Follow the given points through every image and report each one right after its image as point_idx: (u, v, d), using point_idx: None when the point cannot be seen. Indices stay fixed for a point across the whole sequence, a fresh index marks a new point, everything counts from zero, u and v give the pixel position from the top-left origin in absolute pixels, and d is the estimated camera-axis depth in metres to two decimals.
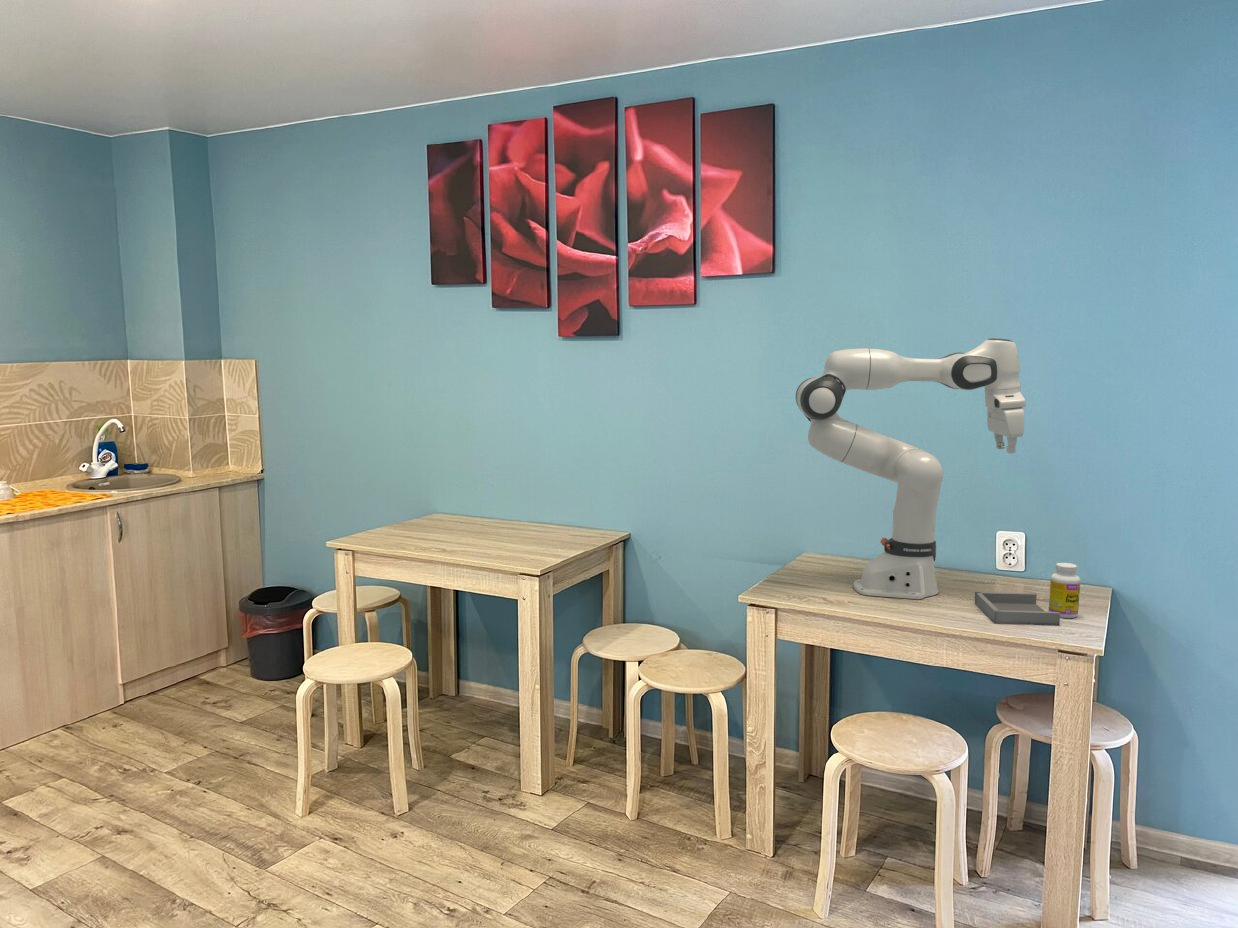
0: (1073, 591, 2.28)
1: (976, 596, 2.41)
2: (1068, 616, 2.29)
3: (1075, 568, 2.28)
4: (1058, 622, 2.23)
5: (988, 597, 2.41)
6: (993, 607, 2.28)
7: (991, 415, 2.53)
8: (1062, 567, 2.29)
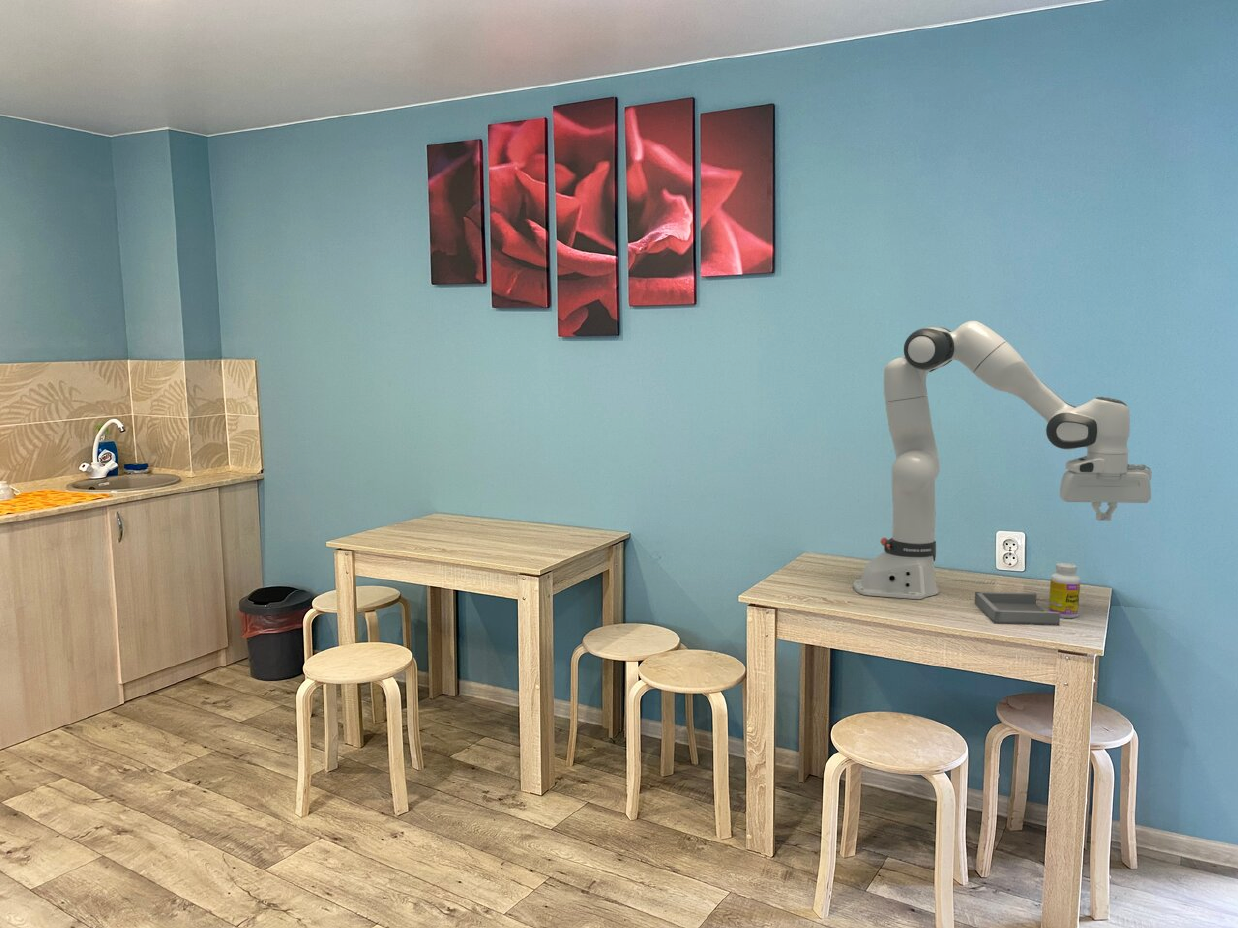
0: (1073, 591, 2.28)
1: (976, 596, 2.41)
2: (1068, 616, 2.29)
3: (1075, 568, 2.28)
4: (1058, 622, 2.23)
5: (988, 597, 2.41)
6: (993, 607, 2.28)
7: None
8: (1062, 567, 2.29)
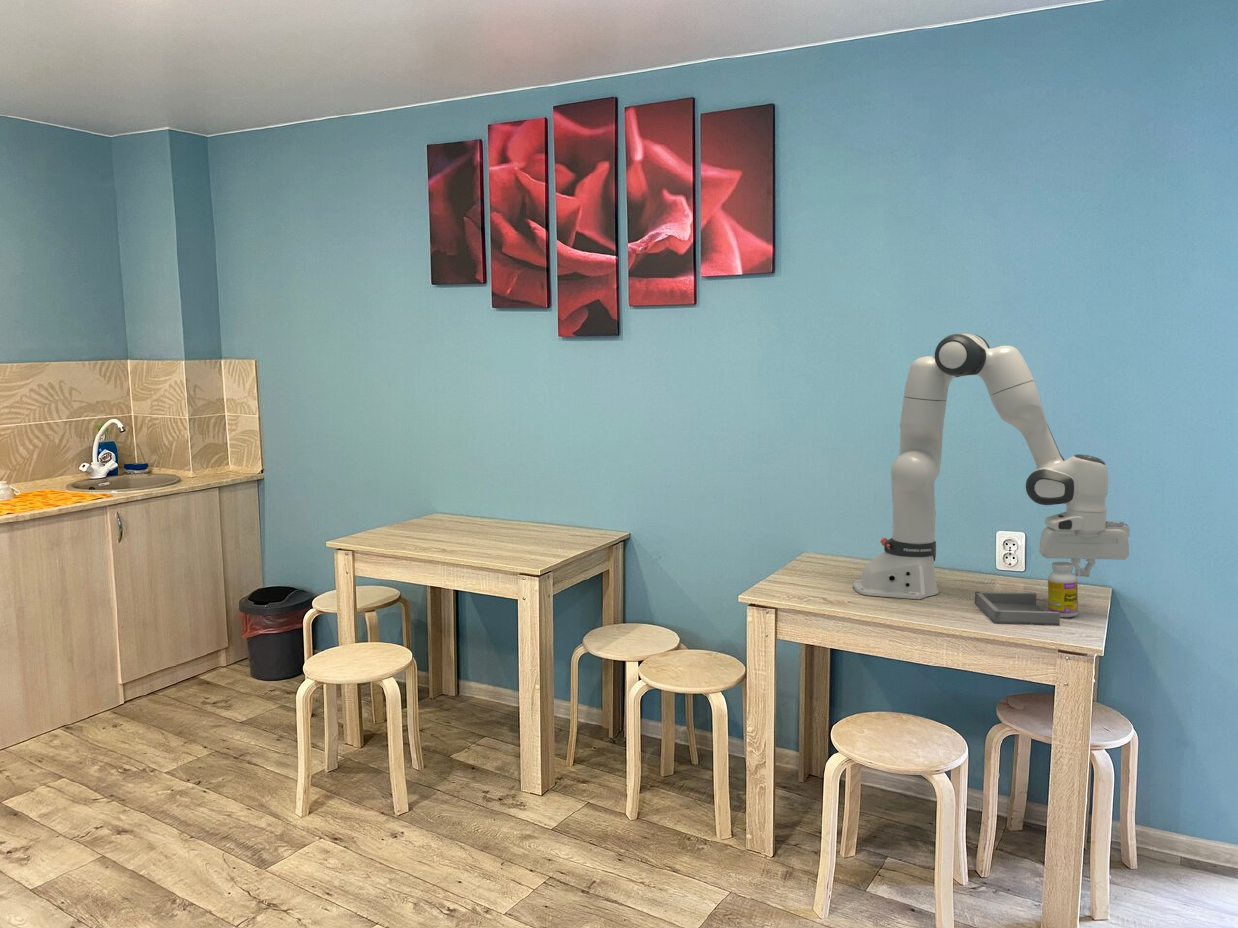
0: (1070, 590, 2.28)
1: (976, 596, 2.41)
2: (1068, 615, 2.29)
3: (1071, 567, 2.28)
4: (1058, 622, 2.23)
5: (988, 597, 2.41)
6: (993, 607, 2.28)
7: None
8: (1058, 567, 2.29)
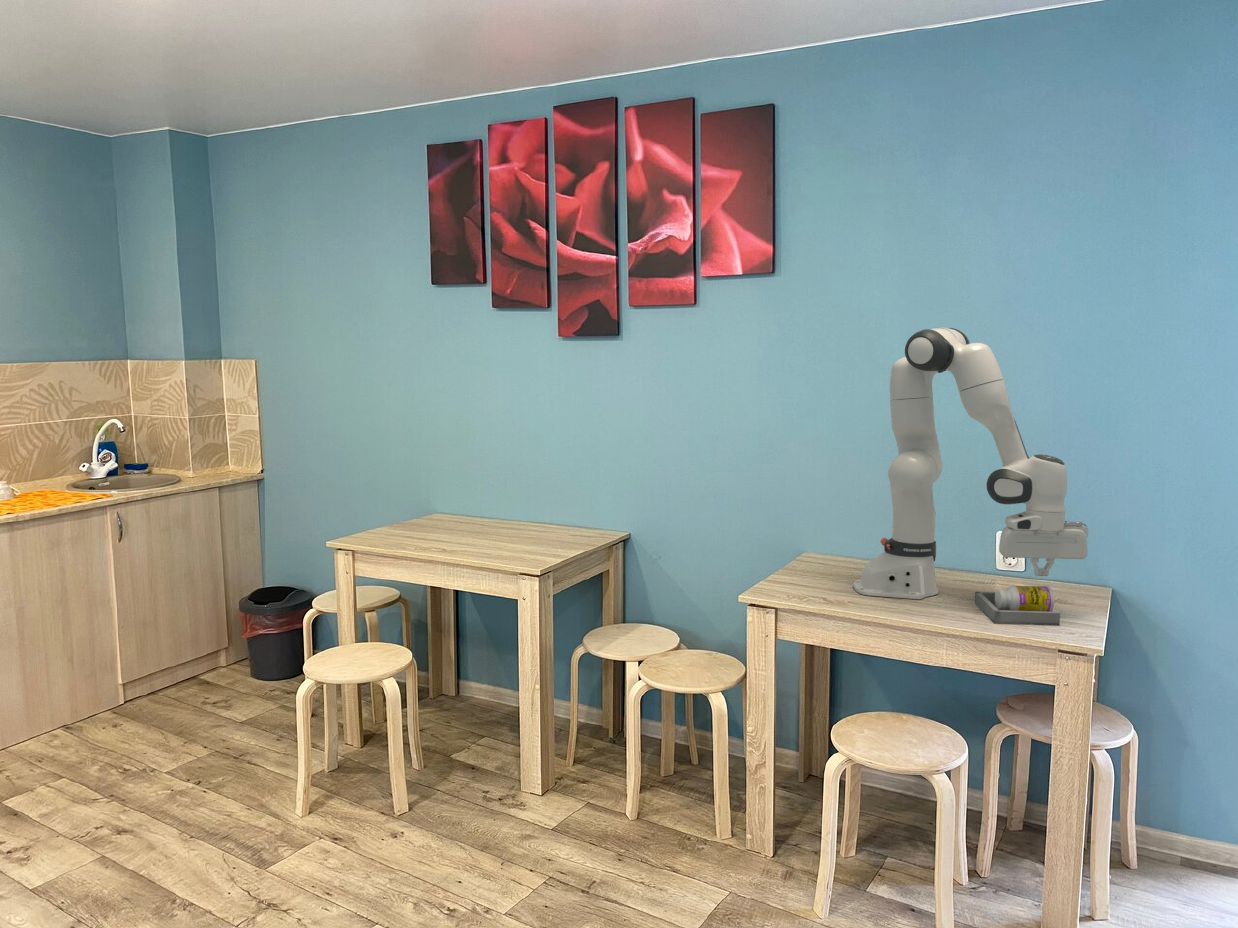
0: (1027, 598, 2.29)
1: (976, 596, 2.41)
2: (1053, 601, 2.29)
3: (1002, 594, 2.31)
4: (1058, 622, 2.23)
5: (988, 597, 2.41)
6: (993, 607, 2.28)
7: None
8: (1001, 606, 2.31)
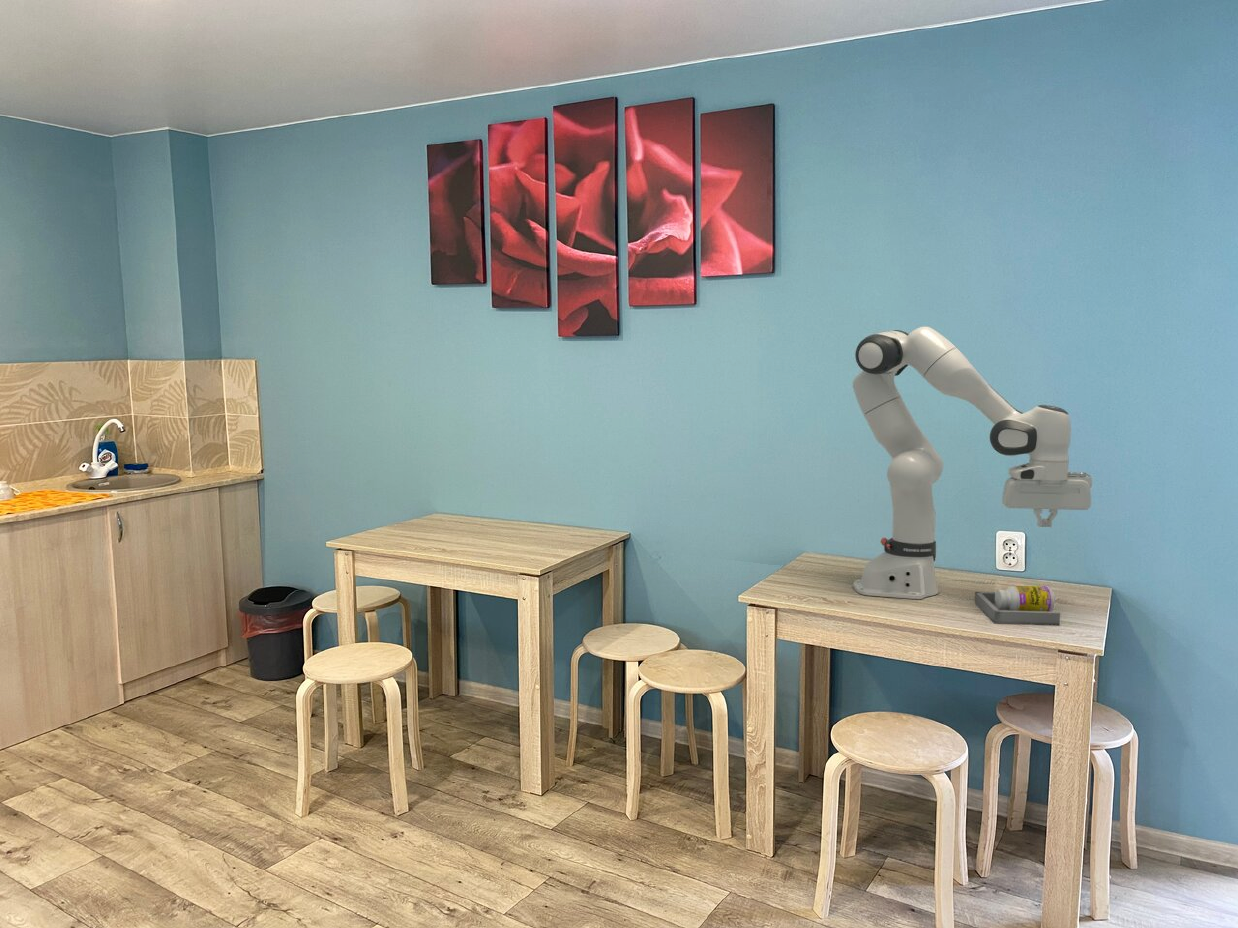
0: (1027, 598, 2.29)
1: (976, 596, 2.41)
2: (1053, 601, 2.29)
3: (1002, 594, 2.31)
4: (1058, 622, 2.23)
5: (988, 597, 2.41)
6: (993, 607, 2.28)
7: None
8: (1001, 606, 2.31)
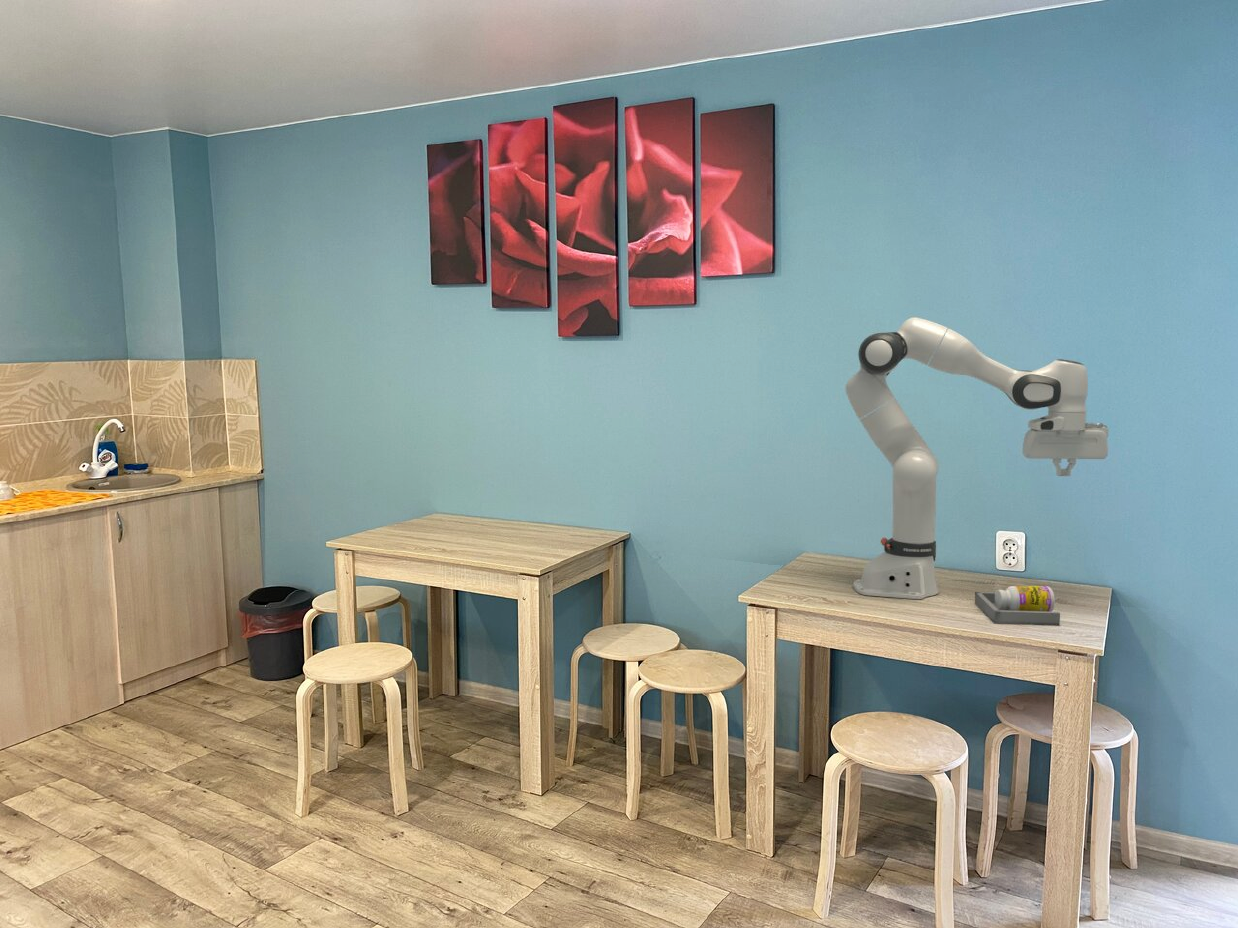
0: (1027, 598, 2.29)
1: (976, 596, 2.41)
2: (1053, 601, 2.29)
3: (1002, 594, 2.31)
4: (1058, 622, 2.23)
5: (988, 597, 2.41)
6: (993, 607, 2.28)
7: None
8: (1001, 606, 2.31)
